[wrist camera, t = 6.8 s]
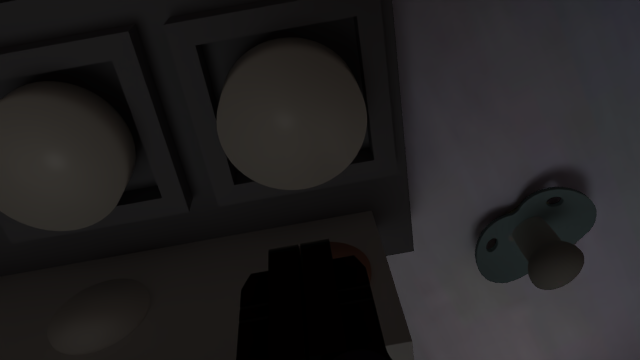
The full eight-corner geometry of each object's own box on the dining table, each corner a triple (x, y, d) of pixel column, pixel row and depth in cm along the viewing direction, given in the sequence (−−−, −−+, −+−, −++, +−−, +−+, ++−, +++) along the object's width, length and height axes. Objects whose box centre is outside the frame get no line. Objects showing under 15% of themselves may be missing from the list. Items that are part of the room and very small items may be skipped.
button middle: (107, 68, 21) (92, 85, 20) (153, 193, 24) (144, 217, 23) (-38, 95, 21) (-65, 113, 20) (26, 216, 24) (7, 242, 23)
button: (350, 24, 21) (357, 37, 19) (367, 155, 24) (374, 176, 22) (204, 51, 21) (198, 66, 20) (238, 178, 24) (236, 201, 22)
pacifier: (600, 219, 33) (555, 160, 30) (667, 288, 28) (619, 223, 25) (503, 284, 35) (452, 234, 32) (547, 360, 30) (491, 307, 27)
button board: (373, -73, 23) (455, -39, 13) (401, 220, 31) (466, 387, 21) (-283, 47, 24) (-718, 174, 13) (-91, 308, 32) (-269, 516, 21)
